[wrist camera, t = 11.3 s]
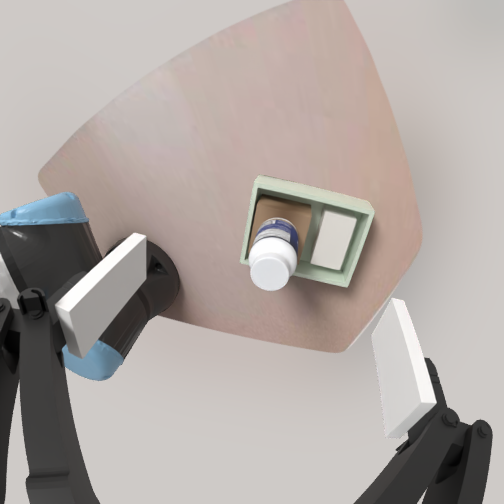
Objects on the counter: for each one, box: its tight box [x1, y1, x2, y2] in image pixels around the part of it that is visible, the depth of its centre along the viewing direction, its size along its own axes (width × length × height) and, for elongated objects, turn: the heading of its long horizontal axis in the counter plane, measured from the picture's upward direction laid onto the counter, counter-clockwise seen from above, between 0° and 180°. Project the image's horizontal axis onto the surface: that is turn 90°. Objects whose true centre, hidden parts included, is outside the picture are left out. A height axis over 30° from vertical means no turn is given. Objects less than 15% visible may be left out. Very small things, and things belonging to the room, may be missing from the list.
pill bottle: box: [249, 218, 299, 291], centre depth 35 cm, size 5×5×10 cm
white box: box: [310, 205, 357, 270], centre depth 42 cm, size 4×8×3 cm, turn 170°
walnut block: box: [248, 194, 312, 265], centre depth 41 cm, size 7×7×5 cm
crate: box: [240, 174, 375, 288], centre depth 42 cm, size 16×12×4 cm
